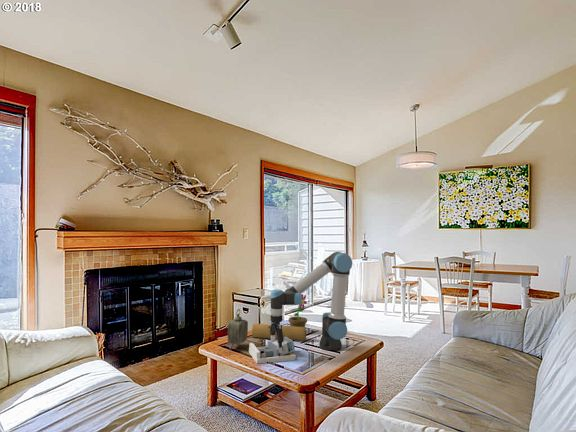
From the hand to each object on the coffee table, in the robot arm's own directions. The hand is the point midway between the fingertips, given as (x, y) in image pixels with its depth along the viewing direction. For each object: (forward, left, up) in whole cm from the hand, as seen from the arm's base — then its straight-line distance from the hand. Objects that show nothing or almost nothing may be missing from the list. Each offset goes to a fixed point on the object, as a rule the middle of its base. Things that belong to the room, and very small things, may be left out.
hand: (276, 349), depth 220 cm
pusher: (+4, 0, -3) cm, 6 cm away
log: (-13, -32, -4) cm, 34 cm away
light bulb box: (0, -1, 0) cm, 1 cm away
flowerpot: (-31, -42, -4) cm, 52 cm away
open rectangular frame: (+3, 0, -4) cm, 5 cm away
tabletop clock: (+20, -20, -4) cm, 29 cm away
